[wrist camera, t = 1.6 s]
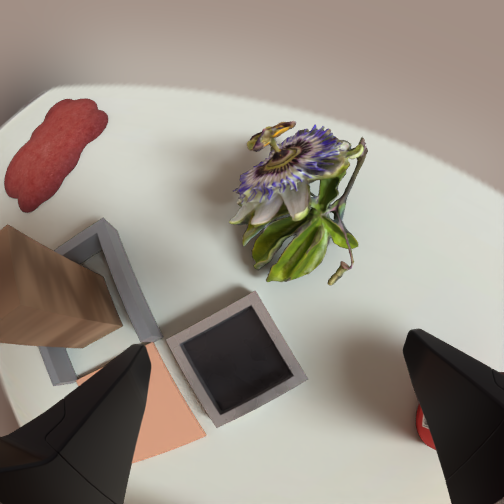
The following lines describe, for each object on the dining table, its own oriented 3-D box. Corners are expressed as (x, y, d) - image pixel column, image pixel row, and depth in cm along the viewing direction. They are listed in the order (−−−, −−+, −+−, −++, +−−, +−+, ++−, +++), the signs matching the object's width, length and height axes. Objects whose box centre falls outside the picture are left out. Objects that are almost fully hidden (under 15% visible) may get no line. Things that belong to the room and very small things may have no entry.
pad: (206, 434, 20) (205, 436, 20) (124, 464, 19) (122, 466, 19) (153, 342, 23) (151, 342, 22) (78, 380, 21) (76, 380, 21)
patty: (67, 97, 33) (62, 88, 31) (124, 110, 31) (119, 100, 29) (-3, 189, 29) (-10, 183, 27) (40, 226, 27) (30, 219, 25)
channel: (163, 337, 23) (151, 336, 20) (71, 383, 21) (53, 386, 18) (117, 230, 26) (103, 217, 23) (37, 282, 24) (19, 275, 21)
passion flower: (265, 214, 32) (286, 106, 25) (358, 255, 28) (400, 144, 21) (199, 265, 24) (210, 116, 16) (321, 330, 20) (389, 173, 13)
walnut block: (123, 325, 23) (20, 304, 11) (82, 348, 22) (-25, 339, 10) (103, 276, 24) (7, 224, 12) (65, 300, 24) (-35, 264, 11)
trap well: (305, 376, 22) (308, 379, 20) (218, 422, 21) (216, 427, 19) (255, 293, 24) (255, 290, 22) (170, 339, 23) (165, 339, 21)
